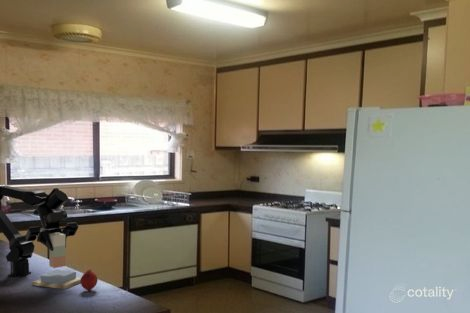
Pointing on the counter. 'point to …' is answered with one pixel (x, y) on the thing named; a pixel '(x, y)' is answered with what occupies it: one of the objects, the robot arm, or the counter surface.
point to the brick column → (57, 250)
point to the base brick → (58, 276)
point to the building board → (62, 286)
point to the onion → (89, 280)
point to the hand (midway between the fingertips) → (58, 249)
